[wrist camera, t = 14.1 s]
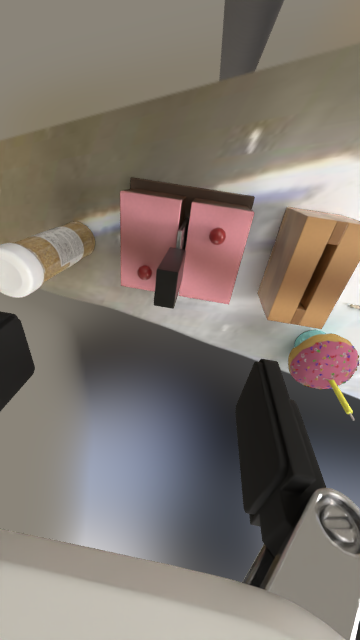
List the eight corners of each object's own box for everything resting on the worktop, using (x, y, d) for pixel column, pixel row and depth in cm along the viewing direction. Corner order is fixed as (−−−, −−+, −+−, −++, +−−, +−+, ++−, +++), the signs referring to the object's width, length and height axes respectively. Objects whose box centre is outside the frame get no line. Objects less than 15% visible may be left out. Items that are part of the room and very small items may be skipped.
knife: (181, 216, 28) (157, 247, 16) (194, 218, 28) (181, 251, 16) (175, 265, 31) (152, 321, 19) (187, 267, 31) (171, 324, 19)
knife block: (286, 206, 26) (308, 216, 21) (341, 215, 26) (379, 227, 20) (257, 293, 32) (266, 319, 26) (301, 300, 32) (321, 329, 26)
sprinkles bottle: (70, 256, 33) (-5, 300, 22) (58, 222, 30) (-34, 250, 19) (101, 254, 32) (39, 297, 21) (90, 218, 30) (15, 246, 18)
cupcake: (349, 350, 35) (403, 421, 25) (293, 370, 39) (321, 440, 29) (329, 308, 32) (382, 370, 22) (270, 334, 36) (293, 398, 26)
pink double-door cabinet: (132, 177, 27) (107, 178, 21) (253, 196, 26) (266, 203, 20) (130, 275, 33) (111, 298, 27) (228, 291, 33) (231, 319, 27)
